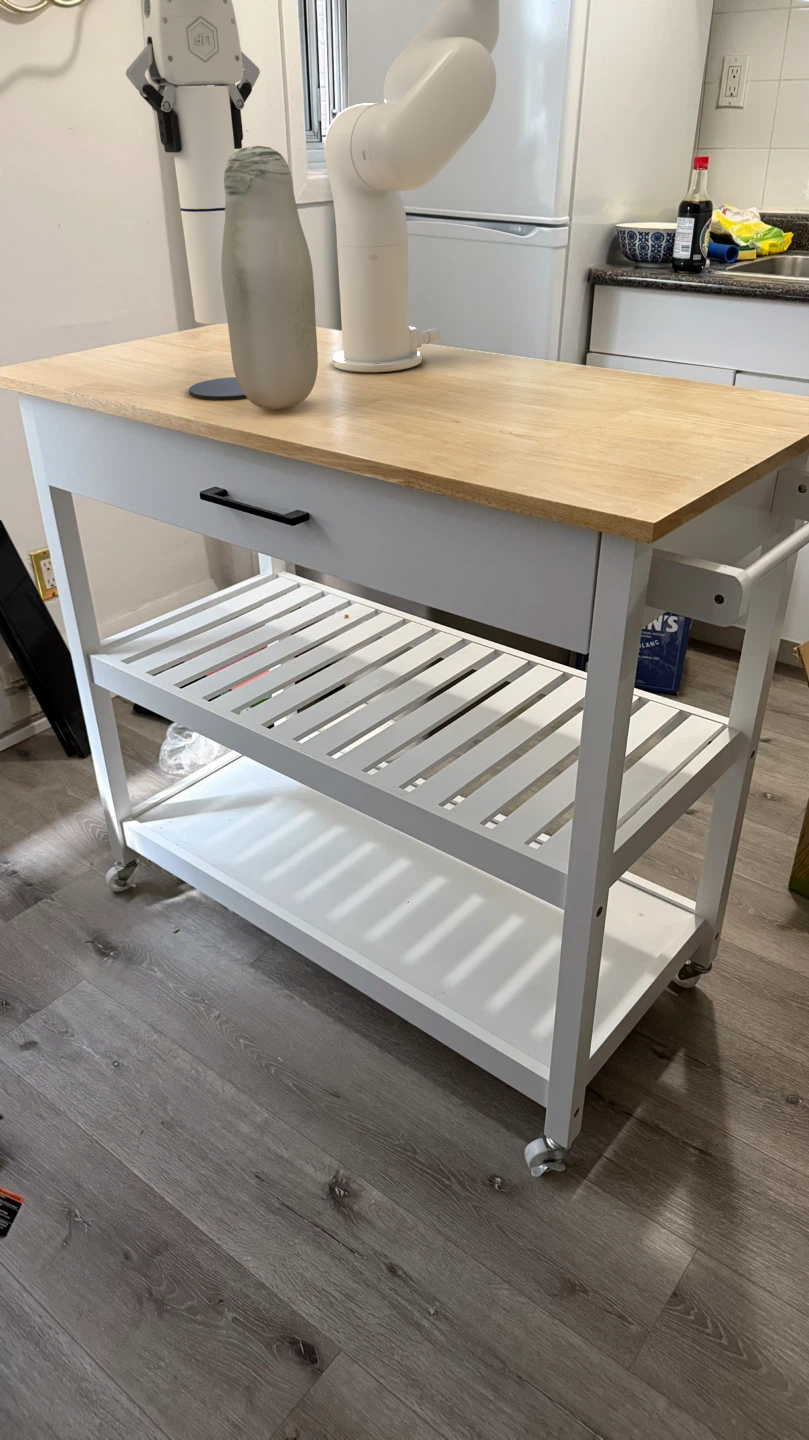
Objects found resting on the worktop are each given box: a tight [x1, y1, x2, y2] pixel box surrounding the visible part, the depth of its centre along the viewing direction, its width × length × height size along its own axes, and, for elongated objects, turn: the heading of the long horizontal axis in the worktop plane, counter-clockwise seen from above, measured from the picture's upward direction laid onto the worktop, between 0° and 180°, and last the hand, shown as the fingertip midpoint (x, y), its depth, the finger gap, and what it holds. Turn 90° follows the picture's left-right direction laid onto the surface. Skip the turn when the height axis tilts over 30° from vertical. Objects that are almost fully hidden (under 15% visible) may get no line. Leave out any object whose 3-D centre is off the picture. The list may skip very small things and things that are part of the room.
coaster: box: [188, 376, 248, 401], centre depth 134 cm, size 11×11×1 cm
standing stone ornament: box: [221, 145, 319, 411], centre depth 119 cm, size 10×10×28 cm
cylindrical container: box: [172, 85, 236, 325], centre depth 124 cm, size 7×7×25 cm
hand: (203, 149), depth 121 cm, fingers closed on cylindrical container, 7 cm apart
